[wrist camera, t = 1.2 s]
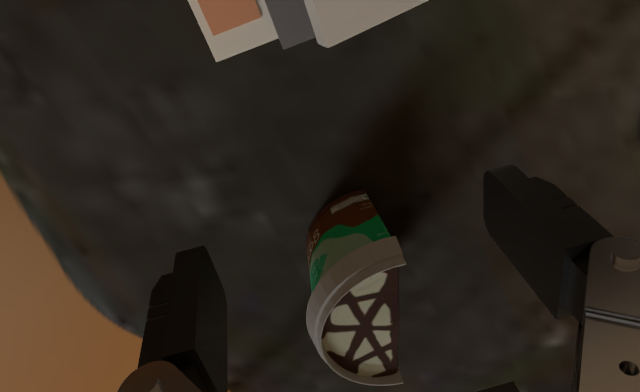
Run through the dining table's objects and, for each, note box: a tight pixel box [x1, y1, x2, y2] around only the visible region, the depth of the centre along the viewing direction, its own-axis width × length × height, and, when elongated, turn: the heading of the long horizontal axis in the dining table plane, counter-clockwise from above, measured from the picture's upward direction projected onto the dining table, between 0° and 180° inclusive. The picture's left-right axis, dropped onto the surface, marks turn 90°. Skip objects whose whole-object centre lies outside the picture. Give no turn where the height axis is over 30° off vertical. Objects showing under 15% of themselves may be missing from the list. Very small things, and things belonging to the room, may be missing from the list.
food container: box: [306, 189, 406, 386], centre depth 35 cm, size 12×6×10 cm, turn 4°
